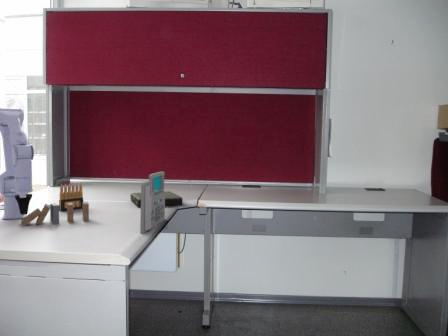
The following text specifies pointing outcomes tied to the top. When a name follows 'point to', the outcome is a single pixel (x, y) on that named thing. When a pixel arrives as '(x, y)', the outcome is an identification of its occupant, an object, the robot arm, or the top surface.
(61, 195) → the ammunition clip
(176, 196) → the network switch
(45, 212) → the walnut domino
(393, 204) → the top surface
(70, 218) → the walnut domino
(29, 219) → the walnut domino
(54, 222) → the charcoal domino
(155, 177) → the office telephone
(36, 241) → the top surface
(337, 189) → the top surface
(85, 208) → the walnut domino
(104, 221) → the top surface
